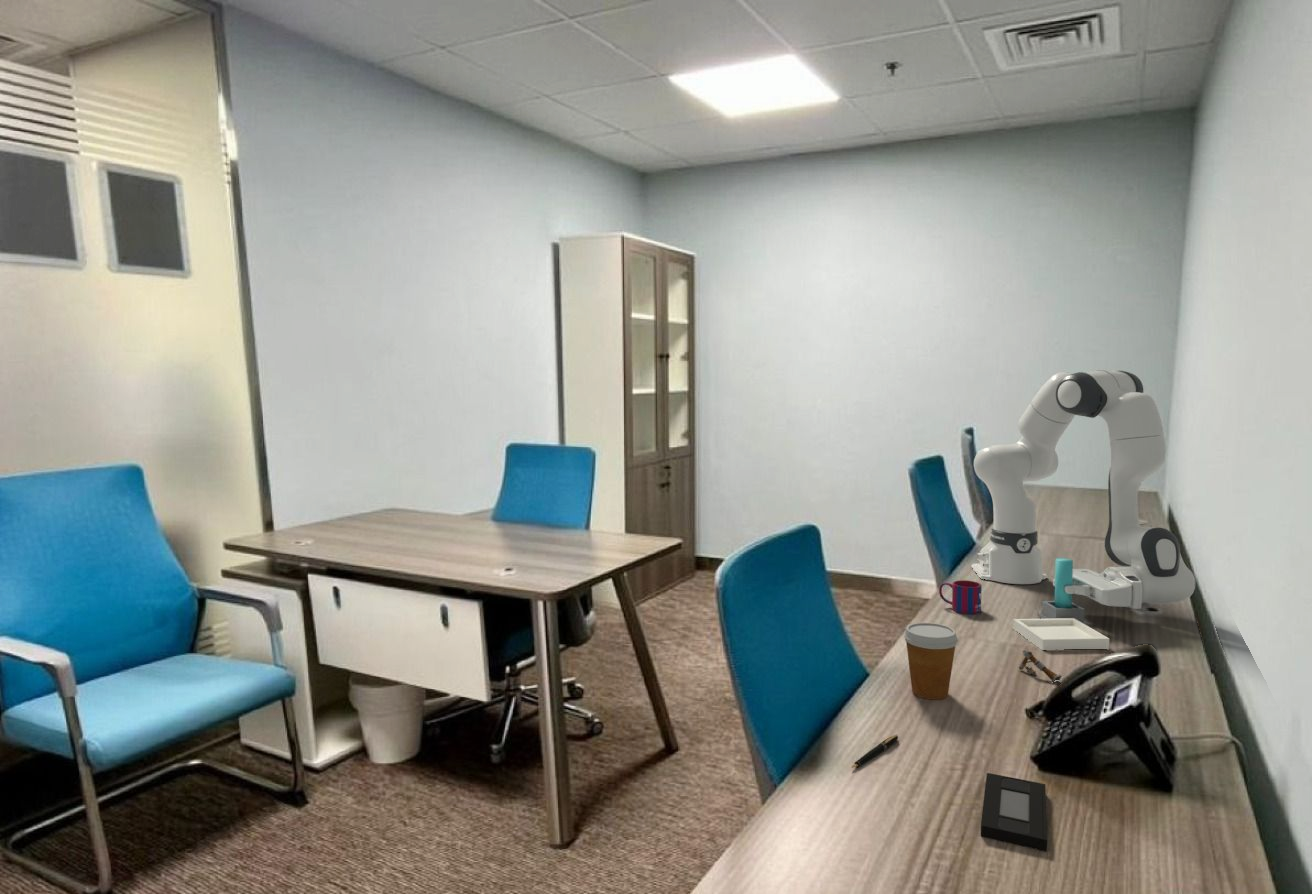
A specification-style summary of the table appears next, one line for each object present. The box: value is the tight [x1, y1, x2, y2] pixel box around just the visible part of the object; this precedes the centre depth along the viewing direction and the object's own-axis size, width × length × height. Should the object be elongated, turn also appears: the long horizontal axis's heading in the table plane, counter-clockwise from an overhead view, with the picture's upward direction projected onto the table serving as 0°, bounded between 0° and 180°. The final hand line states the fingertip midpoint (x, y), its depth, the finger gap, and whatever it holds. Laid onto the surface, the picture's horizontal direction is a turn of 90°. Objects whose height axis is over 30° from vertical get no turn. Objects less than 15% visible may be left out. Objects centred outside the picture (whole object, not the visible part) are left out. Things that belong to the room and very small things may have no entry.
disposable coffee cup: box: [903, 622, 959, 700], centre depth 141 cm, size 10×10×12 cm
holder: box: [1037, 600, 1090, 627], centre depth 180 cm, size 8×8×4 cm
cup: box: [938, 579, 983, 615], centre depth 191 cm, size 7×10×7 cm
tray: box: [1012, 618, 1110, 651], centre depth 168 cm, size 14×14×2 cm
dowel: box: [1054, 558, 1074, 608], centre depth 180 cm, size 4×4×14 cm
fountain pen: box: [850, 734, 899, 769], centre depth 118 cm, size 14×1×2 cm, turn 134°
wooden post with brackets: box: [1018, 649, 1063, 683], centre depth 148 cm, size 2×8×4 cm, turn 30°
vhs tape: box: [980, 772, 1048, 852], centre depth 101 cm, size 8×14×2 cm, turn 154°
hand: (1059, 586), depth 180 cm, fingers closed on dowel, 4 cm apart
